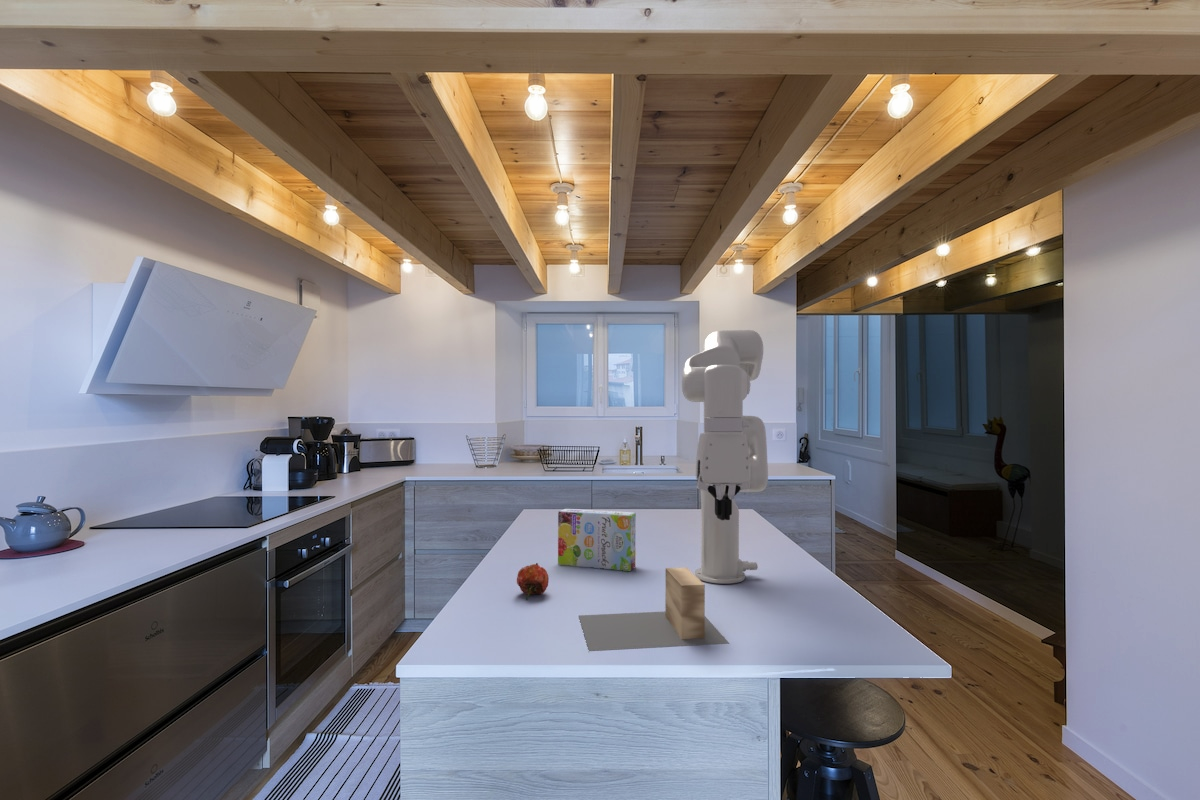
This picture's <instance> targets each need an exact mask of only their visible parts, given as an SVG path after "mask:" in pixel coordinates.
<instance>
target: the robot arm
mask: <svg viewBox="0 0 1200 800" xmlns="http://www.w3.org/2000/svg"><path fill="white" fill-rule="evenodd" d="M763 358H764V343H763V339H762V337H761V335H760V334H759V333H758V332H757V331H755V330H751V329H737V330H735V329H734V330H733V329H732V330H731V329H730V330H717V331H713V332H711V333H710V334H709V335H708V336H706V338H705V340H704V342H703V351H700V352H699V353H696V354H694V355H692V356H691V357H690V356H689V358H688V359H687V360H686V361H685V363H684V366H683V369H682V375H681V377H682V379H681V391H682V394H683V396H684V398H685V399H686V400H687V401H689V402H691V403H703V433H700V434H699V437H698V443H697V449H696V459H695V478H696V481H697V483H696V488H697V489H698V490H699V491H700V502H701V503H700V506H701V507H700V509H701V511H700V512H701V513H700V517H701V518H700V521H701V522H700V523H701V524H700V526H701V527H700V531H701V533H700V535H701V536H700V539H701V541H700V544H701V546H700V549H701V550H700V559H701V560H700V564H701V565H700V567H698V568H697V569H695V572H694V575H695V576H696V577H697V578H698V579H699V580H700V581H701V582H707V583H711V584H712V583H713V584H720V585H721V584H722V585H724V584H725V585H727V584H729V585H731V584H737V583H741V582H743V581H744V580H745V579H746V574H745V572H746V571H757V570H758V562H756V561H754V562H753V561H752V562H751V561H748V560H742V559H740V511H739V510H740V509H739V507H738V505H737V502H736V501H735V500H734V499H735V496H736V495H737V494H738V493H739V492H740V493H741V492H742V493H759V492H762V491H763V492H764V490H765V489H766V488H767V487H768V482H769V468H768V467H769V464H768V449H767V448H768V446H767V433H766V427H765V423H764V422H763V420H762V418H760V417H758V416H755V415H743V411H744V409H743V408H744V407H743V401H744V400H745V399H746V398H747V396H748V395H749V394H750V392H751V382H752V381H755V380H756V379H758V378H759V375H760V373H761V368H762V363H763Z"/></svg>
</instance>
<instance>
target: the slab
mask: <svg viewBox="0 0 1200 800" xmlns="http://www.w3.org/2000/svg"><path fill="white" fill-rule="evenodd" d="M705 587H706V586H705V583H704V582H703V581H702V580H700V579H698V578H697V577H696V576H695V573H693V572H692V570H690V569H689V568H688V567H686V566H685V567H665V592H664V593H665V595H664V596H665V607H664V608H665V611H664V612H665V617H666V618H667V620H668V621H669V622H670V624H671V625H672V627H673V628H674V629H675V631H676V632H677V634H678V635H679V636H680V638H681V639H694V638H705V617H706V615H705V614H706V605H705V604H706V600H705V598H706V597H705V591H706V590H705V589H706V588H705Z"/></svg>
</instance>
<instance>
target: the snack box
mask: <svg viewBox="0 0 1200 800" xmlns="http://www.w3.org/2000/svg"><path fill="white" fill-rule="evenodd" d="M557 515H558V516H557V524H558V525H557V533H558V534H557V565H559V564H560V566H568V565H570V567H579V566H583V567H582V568H590V567H594V568H593V569H600V568H604V569H603V570H611V569H614V571H622V570H623V571H624V572H631V571H633V569H635V568H636V554H637V553H636V552H637V551H636V549H637V548H636V535H637V534H636V521H637V520H636V519H637V516H636V512H635V511H634V512H631V511H614V510H613V511H611V510H600V509H599V510H597V509H596V510H595V509H579V508H564V509H561V510H559V511H558V514H557ZM571 565H572V566H571ZM634 567H635V568H634Z"/></svg>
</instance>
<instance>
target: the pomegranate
mask: <svg viewBox="0 0 1200 800" xmlns="http://www.w3.org/2000/svg"><path fill="white" fill-rule="evenodd" d="M516 584H517V585H518V587H519V588H520V591H521V592H522V593H523V594H526V595H527V596H526V601H528V599H529V597H530V595H541V594H543V593H545V592H546V590H547V588H548V586H549V573H548V571H547V570H546V568H544V567H543V566H540V565H539V563H537V562H536V563H534V564H530V565H526V566H523V567H521V569H519V571H518V573H517V576H516Z"/></svg>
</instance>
